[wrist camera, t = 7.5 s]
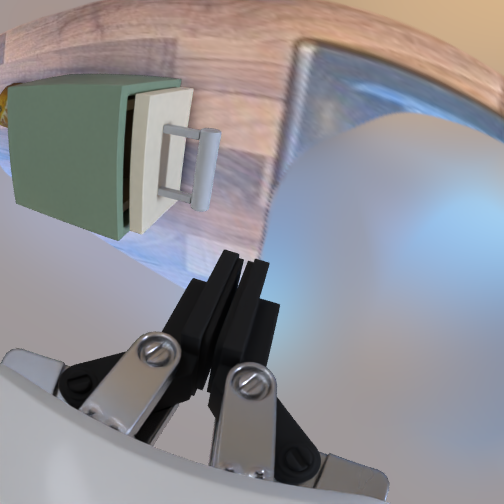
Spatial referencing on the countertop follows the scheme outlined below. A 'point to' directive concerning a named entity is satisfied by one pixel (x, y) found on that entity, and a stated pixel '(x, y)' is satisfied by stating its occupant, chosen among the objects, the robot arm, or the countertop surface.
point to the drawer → (163, 156)
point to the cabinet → (74, 146)
